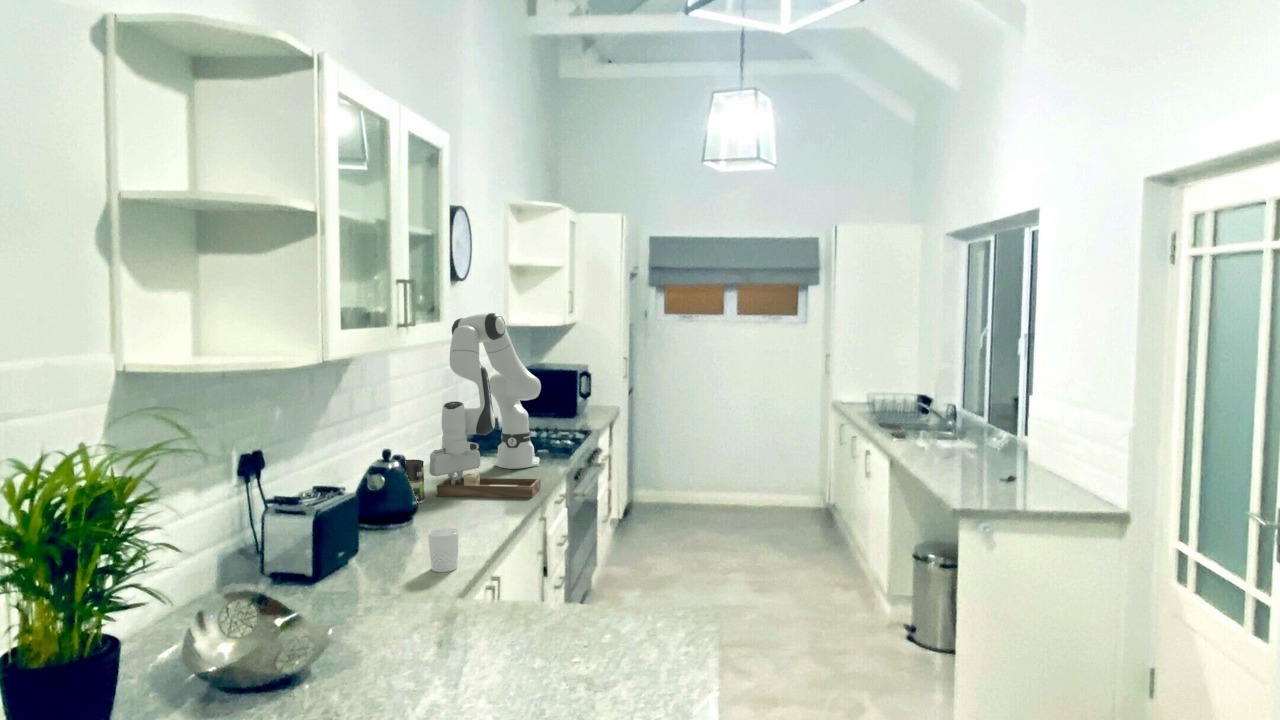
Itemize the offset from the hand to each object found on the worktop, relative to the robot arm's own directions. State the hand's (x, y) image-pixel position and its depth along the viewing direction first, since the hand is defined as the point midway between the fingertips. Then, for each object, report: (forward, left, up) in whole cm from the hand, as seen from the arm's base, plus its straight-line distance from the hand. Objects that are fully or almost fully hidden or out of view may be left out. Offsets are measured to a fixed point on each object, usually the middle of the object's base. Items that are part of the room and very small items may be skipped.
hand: (455, 484), depth 322 cm
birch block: (0, +6, -1) cm, 6 cm away
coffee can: (+15, -12, -3) cm, 19 cm away
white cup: (+86, +25, -3) cm, 89 cm away
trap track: (0, +13, -3) cm, 13 cm away
